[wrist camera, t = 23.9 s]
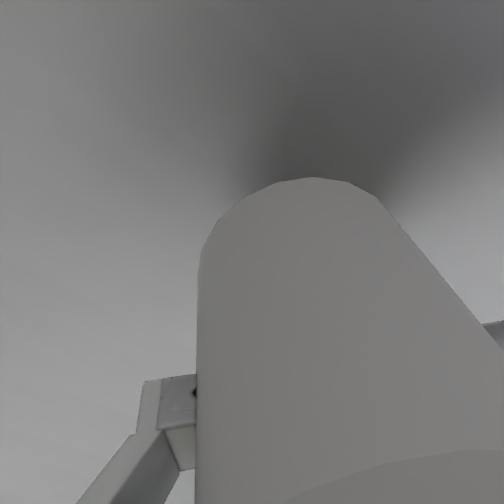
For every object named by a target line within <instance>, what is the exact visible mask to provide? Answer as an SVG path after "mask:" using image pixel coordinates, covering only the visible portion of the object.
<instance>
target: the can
mask: <svg viewBox="0 0 504 504" xmlns="http://www.w3.org/2000/svg"><path fill="white" fill-rule="evenodd" d="M196 374H197V390H196V399H197V423H196V431H195V504H504V352H503V350H502V349H501V348H500V347H499V346H498V344H497V343H496V342H495V341H494V339H493V338H492V337H491V336H490V335H489V333H488V332H487V331H486V330H485V328H484V327H483V326H482V325H481V324H480V322H479V321H478V320H477V319H476V317H475V316H474V315H473V314H472V313H471V311H470V310H469V309H468V308H467V306H466V305H465V304H464V303H463V302H462V300H461V299H460V298H459V297H458V295H457V294H456V293H455V292H454V291H453V289H452V288H451V287H450V286H449V284H448V283H447V282H446V281H445V280H444V278H443V277H442V276H441V275H440V273H439V272H438V271H437V270H436V269H435V267H434V266H433V265H432V264H431V262H430V261H429V260H428V259H427V257H426V256H425V255H424V254H423V253H422V251H421V250H420V249H419V248H418V246H417V245H416V244H415V243H414V242H413V240H412V239H411V238H410V237H409V235H408V234H407V233H406V232H405V231H404V229H403V228H402V227H401V226H400V224H399V223H398V222H397V221H396V220H395V218H394V217H393V216H392V215H391V214H390V213H389V211H388V210H387V209H386V208H385V207H384V206H383V204H382V203H381V202H380V201H379V200H378V199H377V198H376V196H374V195H372V194H370V193H368V192H366V191H364V190H362V189H360V188H358V187H356V186H354V185H353V184H351V183H349V182H345V181H338V180H332V179H325V178H318V177H308V178H301V179H295V180H289V181H282V182H276V183H274V184H272V185H270V186H268V187H266V188H263V189H261V190H259V191H257V192H255V193H253V194H251V195H249V196H247V197H245V198H243V199H242V200H240V201H239V202H238V203H237V204H236V205H235V206H234V207H233V208H232V209H231V210H229V211H228V212H227V213H226V214H225V215H224V216H223V217H222V218H221V219H220V220H218V221H217V223H216V225H215V226H214V228H213V230H212V232H211V234H210V235H209V237H208V239H207V241H206V243H205V244H204V246H203V248H202V251H201V258H200V264H199V271H198V283H197V357H196Z"/></svg>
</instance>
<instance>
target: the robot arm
mask: <svg viewBox="0 0 504 504" xmlns="http://www.w3.org/2000/svg"><path fill="white" fill-rule="evenodd" d="M481 325H482V326H483V327H484V328H485V330H486V331H487V332H488V333H489V335H490V336H491V337H492V338H493V339H494V341H495V342H496V343H497V344H498V346H499V347H500V348H501V349H502V350H503V352H504V320H503V321H497V322H491V323H486V324H481ZM196 390H197V374H190V375H183V376H176V377H169V378H163V379H158V380H151V381H145V383H144V385H143V387H142V394H141V400H140V407H139V414H138V420H137V427H136V434H134V435H130V436H129V437H128V438H127V440H126V441H125V442H124V443H123V445H122V446H121V447H120V449H119V450H118V451H117V452H116V454H115V455H114V456H113V457H112V459H111V460H110V461H109V462H108V464H107V465H106V466H105V468H104V469H103V470H102V471H101V473H100V474H99V475H98V476H97V478H96V479H95V480H94V481H93V483H92V484H91V485H90V487H89V488H88V489H87V490H86V492H85V493H84V494H83V495H82V497H81V498H80V499H79V500H78V502H77V503H76V504H164V502H165V501H166V499H167V497H168V495H169V493H170V491H171V489H172V487H173V486H174V484H175V482H176V480H177V478H178V476H179V474H180V473H179V472H180V471H185V470H190V469H195V431H196V423H197V399H196Z"/></svg>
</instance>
